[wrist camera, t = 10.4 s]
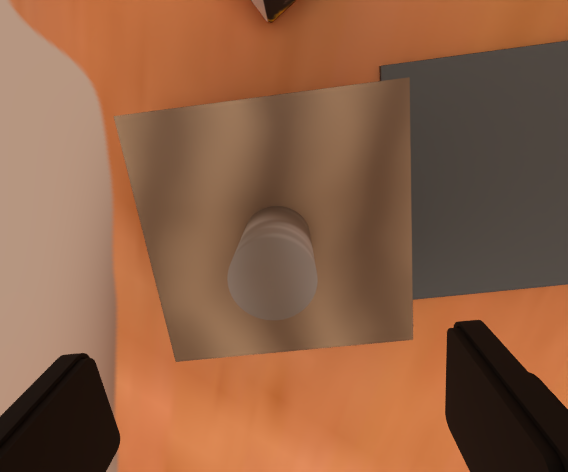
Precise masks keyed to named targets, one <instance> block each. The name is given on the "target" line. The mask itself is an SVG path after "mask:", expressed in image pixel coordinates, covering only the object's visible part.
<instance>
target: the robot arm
mask: <svg viewBox="0 0 568 472" xmlns="http://www.w3.org/2000/svg"><path fill="white" fill-rule="evenodd" d="M445 415H446V420H447V424H448V427H449V429H450V431H451V433H452V435H453V438H454V440H455V442H456V444H457V446H458V448H459V450H460V452H461V454H462V456H463V458H464V460H465V462H466V464H467V466H468V468H469V470H470V472H568V409H567V408H566V407H565V406H564V405H563V404H562V403H561V402H560V401H559V400H558V398H557V397H556V396H555V395H554V394H553V393H552V392H551V391H550V390H549V389H548V388H547V387H546V385H545V384H544V383H543V382H542V381H541V380H540V379H539V378H538V377H537V376H535V375H534V374H532V373H529V372H528V371H527V370H526V369H525V368H524V367H523V366H522V365H521V364H520V363H519V361H518V360H517V359H516V358H515V357H514V356H513V355H512V354H511V353H510V351H509V350H508V349H507V348H506V347H505V346H504V345H503V344H502V343H501V341H500V340H499V339H498V338H497V337H496V336H495V335H494V334H493V333H492V332H491V330H490V329H489V328H488V327H487V326H486V325H485V324H484V323H483V322H482V321H481V320H472V321H460V322H456V323H455V324H454V328H449V329H448V331H447V360H446V405H445ZM119 444H120V434H119V430H118V428H117V425H116V422H115V419H114V416H113V413H112V410H111V407H110V404H109V401H108V398H107V395H106V392H105V389H104V386H103V383H102V380H101V378H100V374H99V371H98V369H97V366H96V363H95V361H94V360H93V359H92V358H90V357H89V356H88V355H87V354H85V353H81V354H68V355H62V356H60V357H59V358H58V359H57V360H56V361H55V362H54V363H53V364H52V365H51V366H50V367H49V368H48V369H47V370H46V371H45V372H44V373H43V374H42V375H41V376H40V377H39V378H38V379H37V380H36V381H35V382H34V383H33V384H32V385H31V386H30V387H29V388H28V389H27V390H26V391H25V392H24V393H23V394H22V395H21V396H20V397H19V398H18V399H17V400H16V401H15V402H14V403H13V404H12V405H11V406H10V407H9V408H8V409H7V410H6V411H5V412H4V413H3V414H2V415H1V417H0V472H106V470H107V469H108V467H109V465H110V463H111V461H112V459H113V457H114V456H115V454H116V452H117V450H118V448H119Z"/></svg>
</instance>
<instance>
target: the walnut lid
mask: <svg viewBox="0 0 568 472" xmlns="http://www.w3.org/2000/svg"><path fill="white" fill-rule="evenodd" d="M114 120H115V124H116V128H117V132H118V135H119V139H120V143H121V147H122V151H123V155H124V159H125V163H126V167H127V171H128V175H129V179H130V183H131V187H132V191H133V195H134V199H135V203H136V207H137V211H138V215H139V218H140V222H141V226H142V230H143V234H144V238H145V242H146V246H147V250H148V254H149V258H150V262H151V266H152V270H153V274H154V278H155V282H156V286H157V290H158V294H159V298H160V301H161V305H162V309H163V313H164V317H165V321H166V325H167V329H168V333H169V337H170V341H171V345H172V349H173V353H174V357H175V361H176V362H179V361H190V360H200V359H211V358H222V357H233V356H243V355H254V354H265V353H276V352H286V351H297V350H308V349H318V348H329V347H340V346H351V345H361V344H372V343H383V342H394V341H404V340H413V293H412V220H411V148H410V77H408V78H401V79H393V80H385V81H378V82H370V83H363V84H355V85H348V86H340V87H332V88H325V89H317V90H310V91H302V92H294V93H287V94H279V95H272V96H264V97H257V98H249V99H241V100H234V101H226V102H219V103H211V104H203V105H196V106H188V107H181V108H173V109H166V110H158V111H150V112H143V113H135V114H128V115H120V116H114Z"/></svg>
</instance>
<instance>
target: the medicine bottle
mask: <svg viewBox="0 0 568 472" xmlns="http://www.w3.org/2000/svg"><path fill="white" fill-rule="evenodd" d="M251 1H252V2H253V4H254V5H255V6H256V8H257V9H258V10H259V12H260V13H261V14H262V16H263V17H264V19H265V20H266V21H267V22H273V21H274V20H275V19H276V18H277V17H278V16H279V15H280V14H282V13H283V12H284V11H285V10H286V9H287V8H288V7H289V6H290V5H291V4H292V3H293V2H294V1H295V0H251Z"/></svg>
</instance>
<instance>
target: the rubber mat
mask: <svg viewBox="0 0 568 472" xmlns="http://www.w3.org/2000/svg"><path fill="white" fill-rule="evenodd" d="M408 77H410V148H411V220H412V293H413V300H414V299H424V298H434V297H445V296H455V295H465V294H475V293H485V292H495V291H505V290H515V289H525V288H536V287H546V286H556V285H566V284H568V41H563V42H556V43H548V44H541V45H533V46H526V47H518V48H511V49H503V50H496V51H488V52H481V53H473V54H466V55H458V56H451V57H444V58H436V59H429V60H421V61H414V62H406V63H399V64H391V65H384V66H380V81H385V80H393V79H401V78H408Z"/></svg>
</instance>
